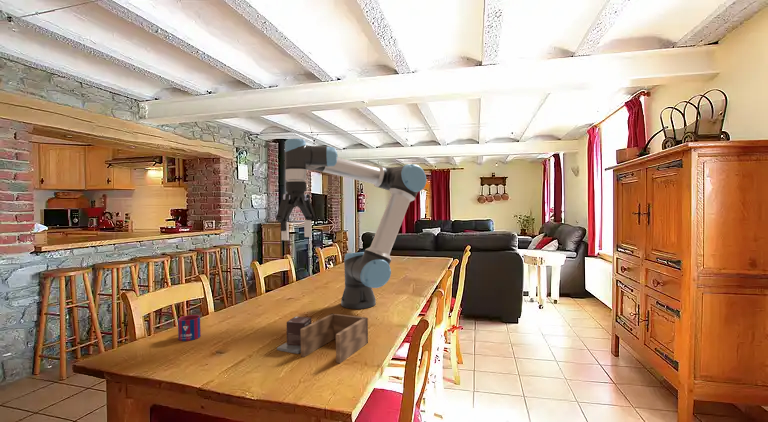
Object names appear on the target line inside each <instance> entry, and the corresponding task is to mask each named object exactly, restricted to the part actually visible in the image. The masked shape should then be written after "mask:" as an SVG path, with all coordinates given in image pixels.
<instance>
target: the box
mask: <svg viewBox="0 0 768 422" xmlns="http://www.w3.org/2000/svg"><path fill="white" fill-rule="evenodd" d="M312 323H313V322H312V317H308V316H294V317H292V318H290V319H289V320H288V321H286V343H287V345H295V346H301V332H300V329H302V328H304V327H306V326H308V325H310V324H312Z"/></svg>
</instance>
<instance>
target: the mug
mask: <svg viewBox="0 0 768 422" xmlns="http://www.w3.org/2000/svg"><path fill="white" fill-rule="evenodd" d="M201 330H202V329H201V315H200V314H189V315H183V316H181V317H179V318H178V319H177V334H178V335H177V336H178V338H177V339H178V341H181V342H189V341H194V340H197V339H199V338H200V337H201V335H202V334H201Z"/></svg>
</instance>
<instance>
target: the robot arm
mask: <svg viewBox="0 0 768 422" xmlns="http://www.w3.org/2000/svg"><path fill="white" fill-rule="evenodd" d="M284 158H285V159H284V162H285V163H284V164H285V165H284V166H285V181H286V182H285V192H287V193H282V194H281V200H280V204H279V207H278V210H277V213H276V217H275V221H277V222H278V223H280V233H281V234H280V235H281V241H289V240H290V226H289V225H290V224H289V221H288V219H289V218H290V216H291V213H292V211H293V210H294V208H296V207H297V208H299V210H300V211H301V213H302V215H303V216H304V218H305V219H304V221H303V226H304V229H303V230H304V238H312V227H313V226H312V221H314V220H315V218H316V214H315V211H314V208H313V205H312V202H311V196H310V194H305V192H307V182H306V180H307V170H308V171H312V170H314V171H316V172H317V171H318V172H322V173H327V174H331V175H334V176H338V177H343V178H348V179H351V180H355V181H359V182H360V181H361V182H364V183H367V184H373V185H374V187H376V188H379V189H383V190H385V191H388V192H389V193H390V197H389V198H388V199H389V200H388V201H387V204H386V207H385V210H384V212H383V214H382V217H381V219H380V222H379V224H378V227H377V229H376V231H375V234H374V237H373V239H372V241H371V244H370V246H369V247H367V248H365V250H364V251H360V252H350V253H349V252H348V253H345V255H344V260H343V262H344V263H343V264H344V290H343V293H342V297H341V301H340V302H341V303H340V306H341V307H342V308H345V309H351V310H352V309H355V310H357V309H358V310H361V309H368V308H372V307H375V306H376V303H377V301H376V295H375V293H374V290H373V289H378V288H381V287H384V285H386V284H387V283H388V282H389V281H390V279H391V275H392V270H391V266H390V265H391V262H392V258H391V252H392V248H393V247H394V244H395V242H396V239H397V236H398V234H399V231H400V228H401V226H402V224H403V221H404V218H405V216H406V213H407V212H408V211H407V210H408V208H409V206H410V203H411V202H413V201H416V197H417V195H418V193H419V192H421V191H422V190H423V189H425V187H426V186H427V175H426V173H425V170H424V168H422V166H420V165H418V164H414V163H411V164H410V163H408V164H405V165H399V166H392V167H387V166H382V165H379V166H378V167H376V166H373V165H369V164H365V163H362V162H358V161H354V160H350V159H345V158H342V157H339V156H338V151H337V148H335V147H333V146H328V145H327V146H321V145H320V146H319V145H318V146H317V145H308V144H307V141H306V140H305V139H303V138H289V139H287V140H285V143H284Z"/></svg>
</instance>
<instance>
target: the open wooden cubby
mask: <svg viewBox="0 0 768 422" xmlns="http://www.w3.org/2000/svg"><path fill="white" fill-rule="evenodd" d="M368 320H369V319H368V317H365V316H356V315H350V314H349V315H347V314H341V313H340V314H339V313H330V314H328V315H326V316H324V317H322V318H320V319H318V320H316V321H314V322H312V324H310V325H308V326H306V327H304V328H302V329H300V332H301V353H300V357H303V358H305V357H307V356H308V355H310V354H311V353H312V354H313V352H314V351H316V350H318V349H319V348H322V347H323V346H325V345H326V344H327V343H330V342H331V341H333V340H335V363H336V364H342V363H343V362H345V360H347V359H348V358H349V357H351V356H352V355H354V354H355V353H357V352H358V351H359V350H360V349H362V348H363V347H364V346H366V345H367V344H369V325H368V323H369V321H368Z"/></svg>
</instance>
